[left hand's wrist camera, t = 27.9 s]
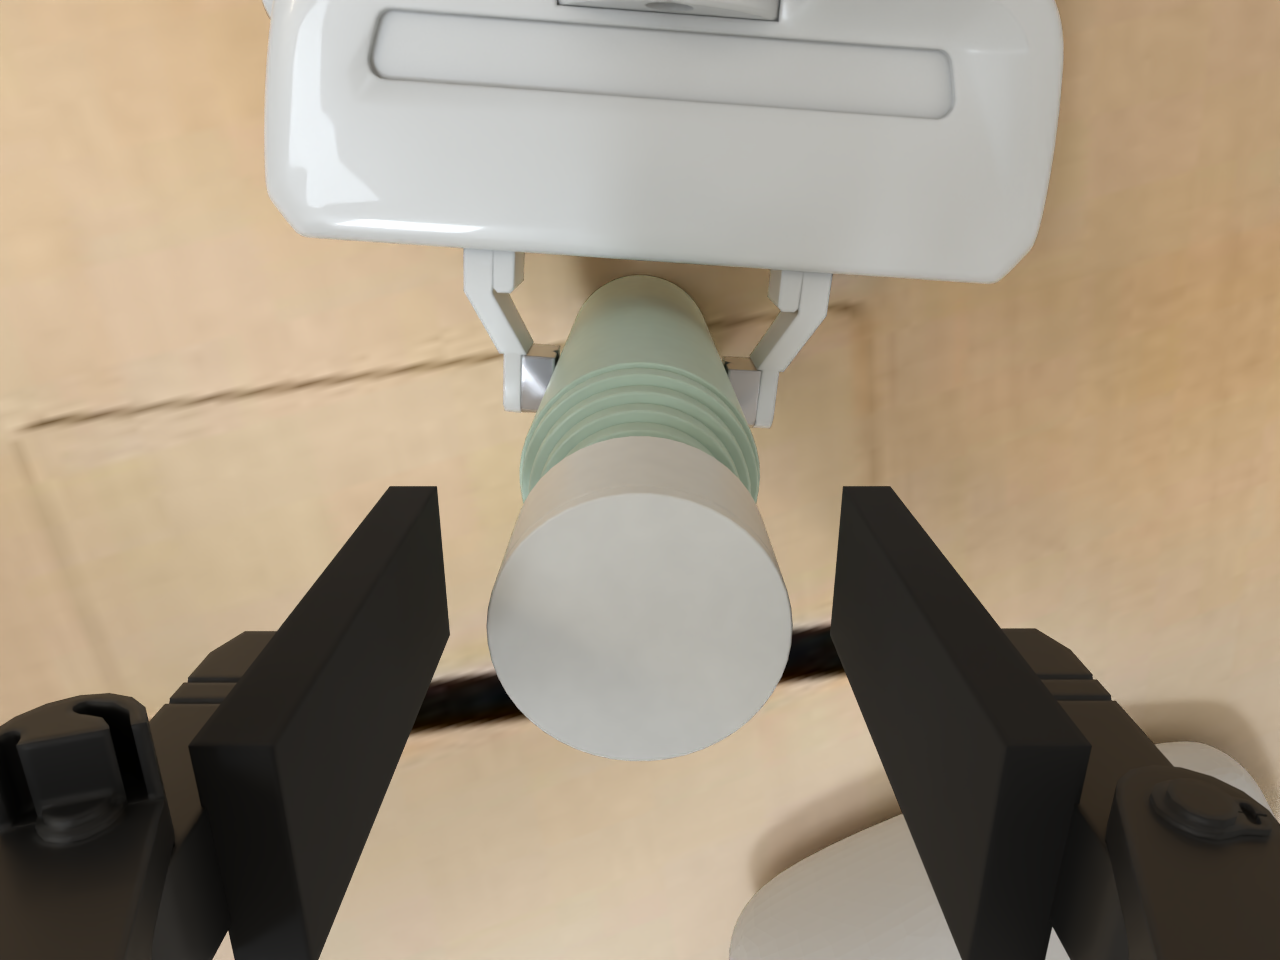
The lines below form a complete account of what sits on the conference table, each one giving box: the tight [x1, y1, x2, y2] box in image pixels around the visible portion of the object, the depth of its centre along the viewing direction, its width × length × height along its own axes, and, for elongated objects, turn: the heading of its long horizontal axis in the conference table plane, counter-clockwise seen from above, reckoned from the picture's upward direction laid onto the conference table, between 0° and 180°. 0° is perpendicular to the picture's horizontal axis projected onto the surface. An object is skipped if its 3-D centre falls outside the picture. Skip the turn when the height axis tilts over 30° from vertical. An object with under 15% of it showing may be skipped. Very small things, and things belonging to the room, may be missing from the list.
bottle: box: [520, 275, 760, 504], centre depth 22 cm, size 5×5×20 cm
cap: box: [487, 436, 793, 761], centre depth 13 cm, size 4×4×3 cm
